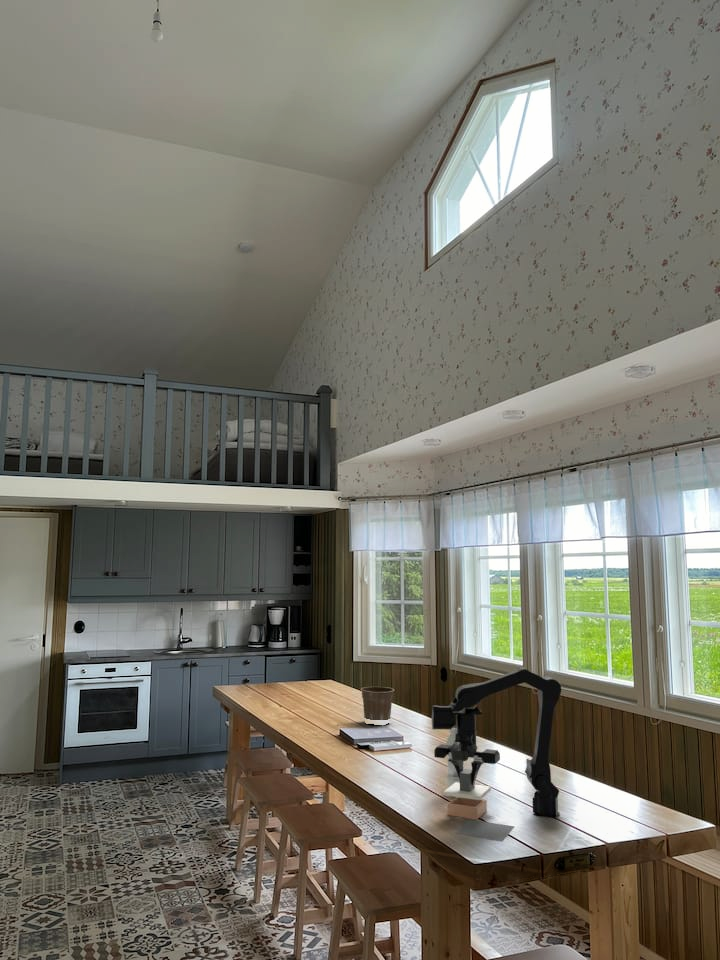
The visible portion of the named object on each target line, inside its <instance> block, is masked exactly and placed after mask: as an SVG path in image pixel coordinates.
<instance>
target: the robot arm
mask: <svg viewBox="0 0 720 960" xmlns="http://www.w3.org/2000/svg"><path fill="white" fill-rule="evenodd" d="M520 684H527V685H529V686H531V687H532V688H535V689H536V691H537V700H538V715H537V716H538V717H537V726H536V733H535V741H534V753H533V756H532V758H531V759H529V758H526V766H525V767H526V768H525V770H524V773H525V774H526V778H527V781H528V782H529V783H530V784H531V786H532V787H533V788H534V790H535V791H534V792H533V793H534V796H533V797H532V815H533V816H536V817H543V818H549V819H550V818H551V819H556V818H558V817H559V815H560V814H561V813H560V811H559V799H558V797H559V793H560V790H559V789H558V787H557V786H556V785H555V784H554V783H553V782H552V775H551V773H552V772H551V765H550V757H549V756H550V749H551V748H550V747H551V742H552V741H551V740H552V733H553V732H552V731H553V721H554V715H555V714H554V713H555V709H556V707H557V705H558V703H559V701H560V697H561V693H562V685H561V684H560V682H558V680H556V679H555V678H553V677H551V676H543V677H542V676H541V675H538V674H537V673H533V672H532V671H529V670H528V669H526V668H525V667H519V668H516V669H515V670H513V671H510V672H507V673H505V674H502V675H500V676H497V677H493V678H491V679H489V680H485V681H483V682H477V683H468V684H463V685H460V686H458V687H457V689H456V691H455V696H454V698H453V699H452V700H451V702H450V703H449V704H448V705H447V706H446V705H432V713H431V730H450V729H451V728H452V727H453V726H457V734H456V736H455V742H454V743H453V745H446V744H440V745H438V746H436V747H435V748H434V758H439V759H445V758H446V757H447V755H449V759H448V760H447V762H448V761H449V762H451V763H452V764H453V765H454V767H455V769H456V771H457V774H458V777H459V780H460V772H461V771H463V762H466V761H468V760H469V758H473V761H471V762H470V763H471V764H470V765H471V770H472V777H471V782H472V785H474V783H475V784H476V779H477V776H478V774H479V771H480V768H481V767H482V765H483V764H488V765H489V764H491V765H495V764H497V763H498V762H499V761H500V760H501V756H500V752H499V750H497V749H489V748H486V749H485V750H483V751H478V745H477V736H478V731H477V718H476V717H477V716H478V715H479V716H481V715H483V712H482V710H480V709H479V707H478V706H477V704H478V703H480V702H481V701H484V699H486V698H487V697H488V696H491V695H493V694H497V693H499V692H502V691H505V690H508V689H509V688H513V687H516V686H518V685H520Z"/></svg>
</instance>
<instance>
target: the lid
mask: <svg viewBox="0 0 720 960" xmlns="http://www.w3.org/2000/svg"><path fill="white" fill-rule="evenodd" d="M471 777H472V769H468V768H464V770H463V771H461V772H460V783H458V782H455V783H454V784H453V785H451V786H450V787H449V788H447V787H446V789H445V790H443V791H442V792H443V796H448V797H453V798H455V797H461V798H468V799H475V800H481V799H483V798H484V797H485V796H487V794H489V793H490V792H491V791H492V788H491V787H492V786H486V785H479V784H476V782H475V783H474V785H472V782H471Z"/></svg>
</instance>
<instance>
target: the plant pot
mask: <svg viewBox="0 0 720 960" xmlns="http://www.w3.org/2000/svg"><path fill="white" fill-rule="evenodd" d="M360 691H361V698H362V702H363V716H364V717H363V718H366V719H370V720H388V719H390V720H391V713H392V704H393V699H394V692H395V689H394V688H392V687H388V686H387V687H385V686H366V687H361V688H360Z"/></svg>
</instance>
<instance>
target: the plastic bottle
mask: <svg viewBox="0 0 720 960" xmlns="http://www.w3.org/2000/svg"><path fill="white" fill-rule="evenodd" d="M456 734H457V725H455V726H453V727H452V728H451V729H449V736H448V737H447V739H446V742H445V745H453V743H454V742H455V736H456ZM446 757H447V768H446V769H447V772H446V778H445V785H446V789H447V788H449V787H450V786H451V785H453V784H454V783H455V782H458V783H460V780H459V777H458V774H457V771H456V769H455V767H454V765H453V764H452V763H451V762H449V761H448V759H449V755H447V756H446ZM464 762H465V761H463V770H464V769H465V768H464V767H465V766H464Z"/></svg>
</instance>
